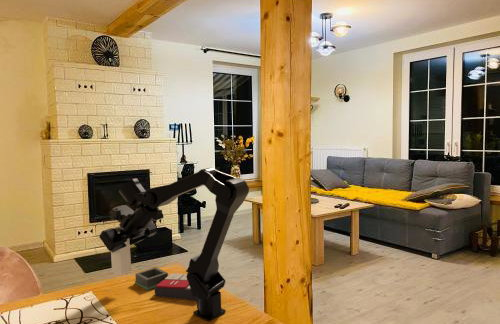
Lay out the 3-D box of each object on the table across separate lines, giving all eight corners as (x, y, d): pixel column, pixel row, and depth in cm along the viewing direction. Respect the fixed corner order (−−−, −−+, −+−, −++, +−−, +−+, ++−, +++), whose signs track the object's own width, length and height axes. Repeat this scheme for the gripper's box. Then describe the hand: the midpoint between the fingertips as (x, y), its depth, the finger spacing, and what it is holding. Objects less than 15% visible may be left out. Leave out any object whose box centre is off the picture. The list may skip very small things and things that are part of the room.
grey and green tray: (169, 282, 123) (168, 272, 123) (147, 290, 117) (146, 280, 117) (156, 276, 128) (155, 266, 128) (135, 283, 123) (134, 273, 123)
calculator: (170, 272, 123) (212, 273, 119) (171, 284, 124) (213, 286, 120) (153, 285, 113) (198, 287, 109) (154, 299, 113) (200, 301, 109)
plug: (131, 270, 117) (128, 226, 116) (121, 275, 114) (118, 229, 112) (122, 268, 119) (119, 225, 118) (112, 273, 116) (109, 228, 114)
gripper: (148, 192, 121) (125, 222, 127) (101, 203, 104) (78, 237, 110) (168, 218, 118) (144, 248, 124) (123, 234, 101) (98, 267, 107)
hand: (117, 249), depth 116 cm, fingers closed on plug, 4 cm apart
